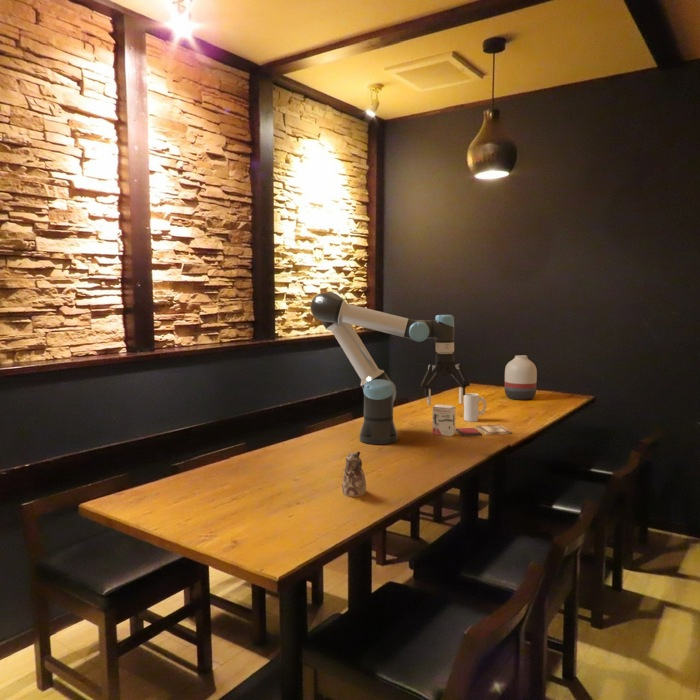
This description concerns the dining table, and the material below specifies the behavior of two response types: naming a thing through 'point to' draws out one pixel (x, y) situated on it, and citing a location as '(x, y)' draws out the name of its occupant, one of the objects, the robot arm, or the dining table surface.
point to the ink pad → (468, 432)
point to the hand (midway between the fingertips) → (445, 404)
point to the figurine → (354, 476)
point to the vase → (520, 378)
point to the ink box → (444, 420)
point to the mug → (472, 407)
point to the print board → (493, 429)
